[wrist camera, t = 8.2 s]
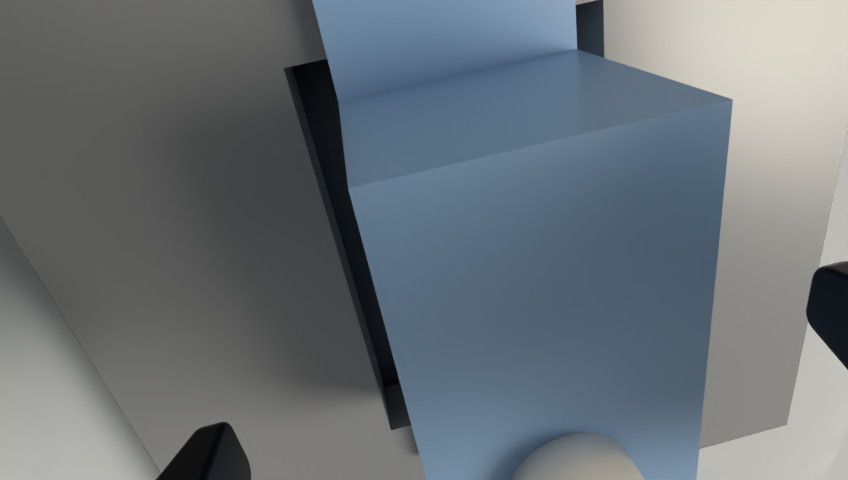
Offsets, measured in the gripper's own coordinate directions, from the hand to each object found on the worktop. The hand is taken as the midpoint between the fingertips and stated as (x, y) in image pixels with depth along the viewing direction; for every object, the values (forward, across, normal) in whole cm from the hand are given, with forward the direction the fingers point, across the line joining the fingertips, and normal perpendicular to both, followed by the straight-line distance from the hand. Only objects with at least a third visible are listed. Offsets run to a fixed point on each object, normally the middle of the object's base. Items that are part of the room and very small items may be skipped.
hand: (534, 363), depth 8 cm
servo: (+5, 0, 0) cm, 5 cm away
